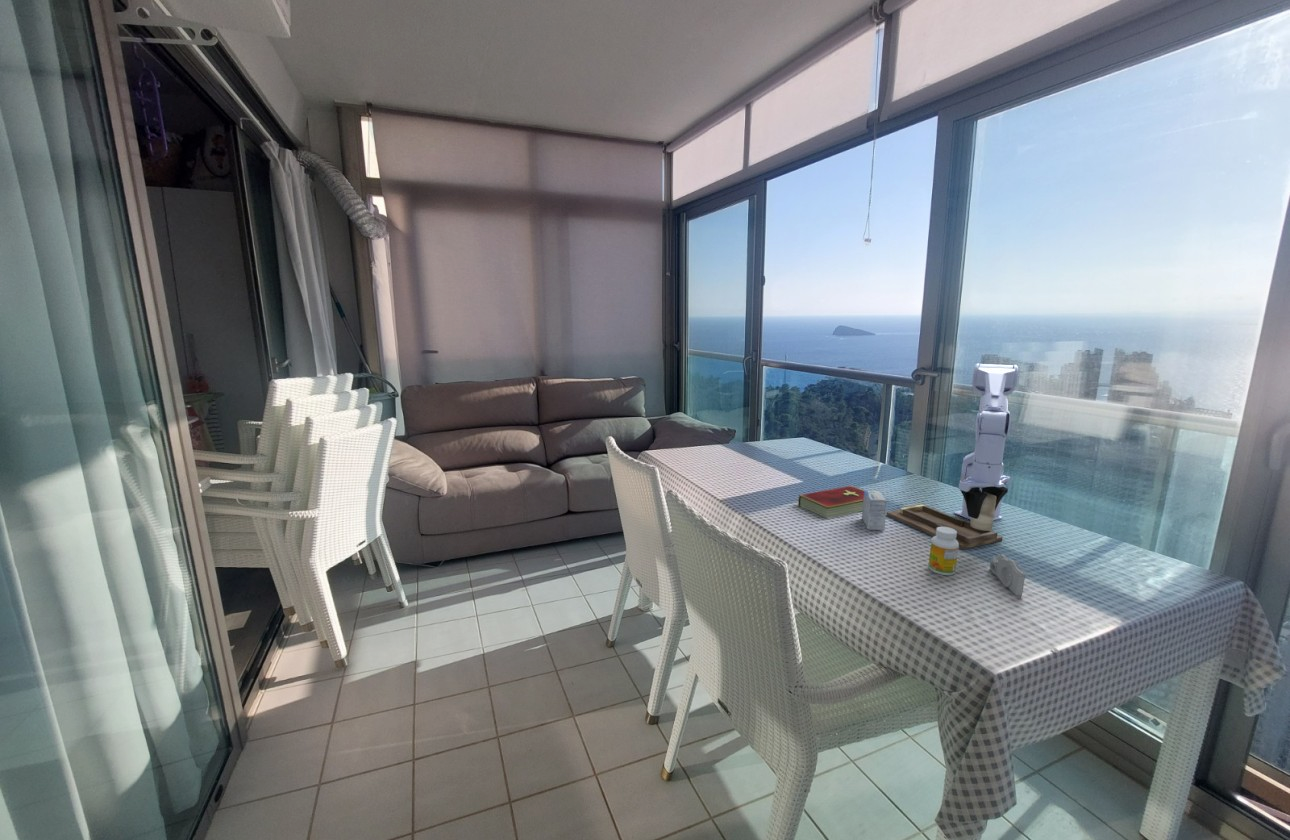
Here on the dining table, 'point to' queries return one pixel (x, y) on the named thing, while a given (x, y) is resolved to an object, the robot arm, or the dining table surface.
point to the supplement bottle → (944, 551)
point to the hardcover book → (833, 501)
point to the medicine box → (874, 510)
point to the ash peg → (985, 514)
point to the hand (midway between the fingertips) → (980, 515)
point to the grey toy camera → (1008, 573)
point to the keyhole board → (944, 525)
